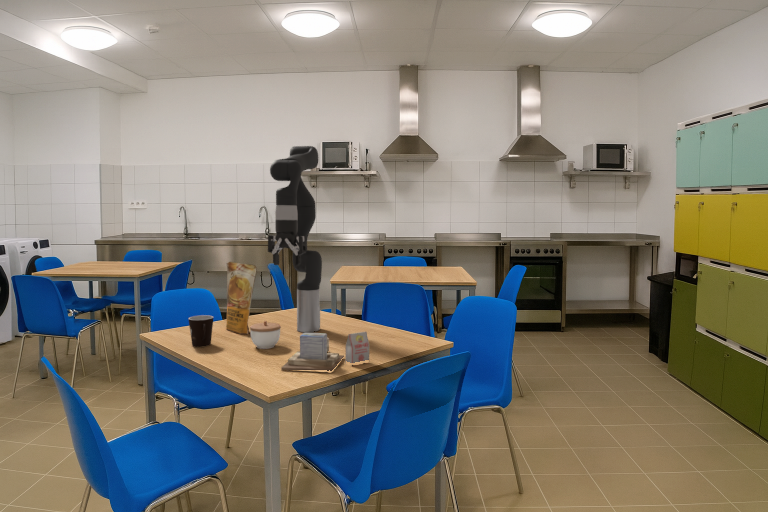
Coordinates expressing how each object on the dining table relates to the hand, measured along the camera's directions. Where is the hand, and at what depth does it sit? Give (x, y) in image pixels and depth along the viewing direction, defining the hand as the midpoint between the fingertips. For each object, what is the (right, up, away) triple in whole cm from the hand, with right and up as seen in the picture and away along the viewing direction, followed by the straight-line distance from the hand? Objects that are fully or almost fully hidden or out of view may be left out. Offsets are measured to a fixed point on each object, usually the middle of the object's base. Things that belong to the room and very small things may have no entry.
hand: (286, 265), depth 171 cm
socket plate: (+11, -31, -13) cm, 36 cm away
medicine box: (+11, -31, -13) cm, 35 cm away
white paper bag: (+25, -32, -12) cm, 42 cm away
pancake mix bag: (-26, -28, +32) cm, 49 cm away
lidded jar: (-9, -30, +7) cm, 32 cm away
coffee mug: (-33, -30, +8) cm, 45 cm away
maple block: (+12, -31, 0) cm, 33 cm away
